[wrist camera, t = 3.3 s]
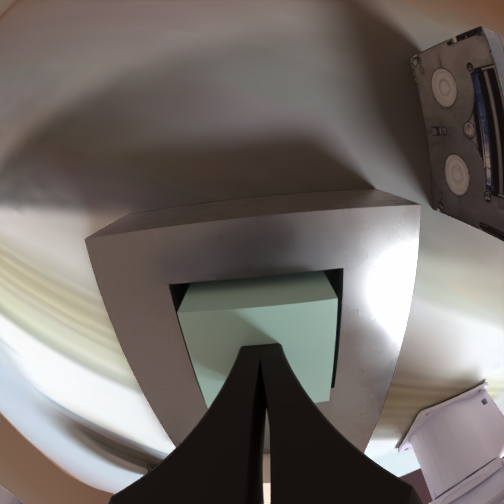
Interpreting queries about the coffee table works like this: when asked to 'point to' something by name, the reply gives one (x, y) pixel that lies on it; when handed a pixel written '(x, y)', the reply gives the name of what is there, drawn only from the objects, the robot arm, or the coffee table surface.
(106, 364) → the coffee table surface
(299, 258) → the key housing
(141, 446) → the coffee table surface
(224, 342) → the teal key
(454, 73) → the mini dv tape
